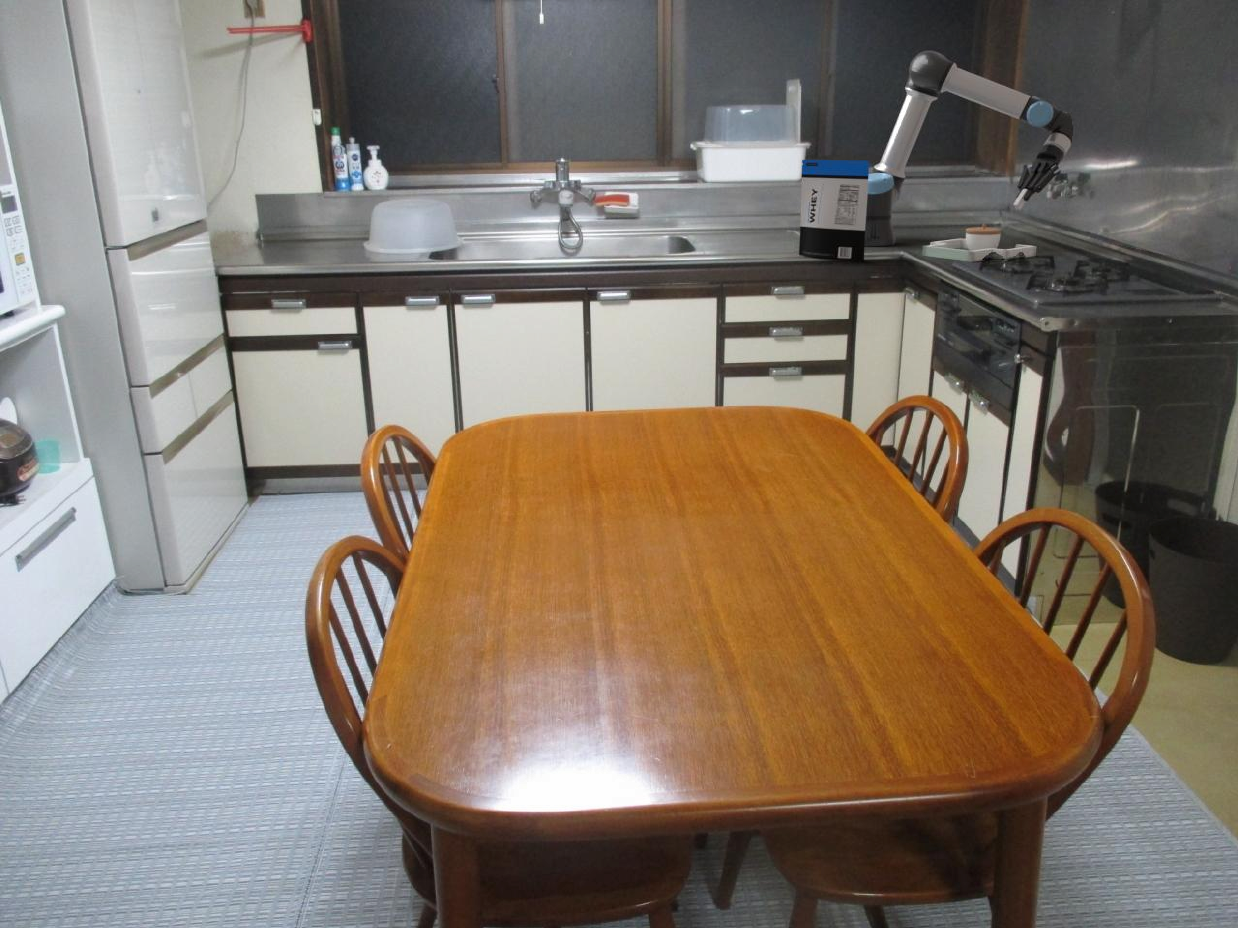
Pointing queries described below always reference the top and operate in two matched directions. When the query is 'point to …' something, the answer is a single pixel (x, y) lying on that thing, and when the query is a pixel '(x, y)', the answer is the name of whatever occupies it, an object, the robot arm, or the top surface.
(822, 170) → the protein powder
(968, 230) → the lidded jar
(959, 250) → the box
